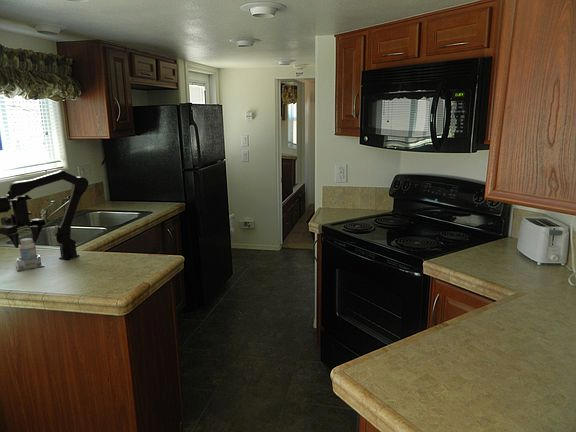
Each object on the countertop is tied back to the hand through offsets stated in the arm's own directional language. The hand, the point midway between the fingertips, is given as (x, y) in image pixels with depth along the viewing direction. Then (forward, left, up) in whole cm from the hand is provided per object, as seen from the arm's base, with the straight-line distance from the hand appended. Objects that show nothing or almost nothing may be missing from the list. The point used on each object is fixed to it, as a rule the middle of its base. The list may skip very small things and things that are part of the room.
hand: (26, 245), depth 189 cm
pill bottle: (0, 0, -9) cm, 9 cm away
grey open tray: (0, 0, -9) cm, 9 cm away
